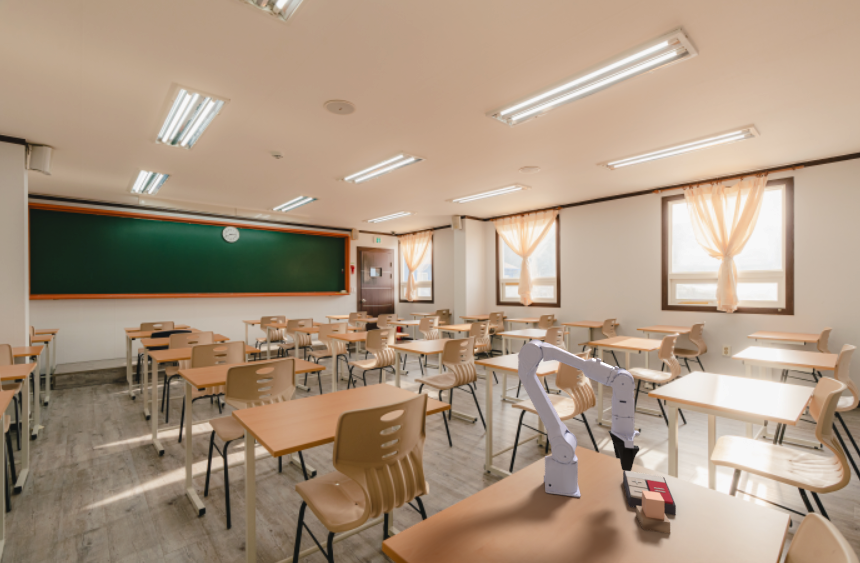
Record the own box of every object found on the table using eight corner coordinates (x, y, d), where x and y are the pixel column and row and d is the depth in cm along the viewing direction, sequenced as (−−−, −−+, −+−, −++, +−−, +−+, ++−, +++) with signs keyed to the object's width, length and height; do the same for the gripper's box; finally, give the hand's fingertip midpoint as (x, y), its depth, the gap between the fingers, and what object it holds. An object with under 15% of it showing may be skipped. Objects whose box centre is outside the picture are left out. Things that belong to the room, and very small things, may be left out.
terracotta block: (646, 516, 96) (646, 498, 96) (641, 507, 100) (642, 490, 100) (664, 519, 95) (664, 501, 95) (659, 510, 99) (659, 492, 99)
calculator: (629, 494, 105) (622, 467, 119) (629, 510, 105) (622, 481, 119) (676, 503, 101) (664, 474, 115) (676, 519, 101) (664, 488, 115)
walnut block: (642, 531, 95) (642, 518, 95) (636, 517, 101) (636, 505, 101) (670, 535, 93) (670, 522, 94) (661, 520, 99) (661, 508, 99)
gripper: (646, 424, 99) (646, 478, 99) (632, 407, 113) (632, 454, 113) (616, 422, 101) (616, 474, 101) (605, 406, 115) (606, 452, 115)
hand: (623, 464), depth 107 cm, fingers open, 7 cm apart
